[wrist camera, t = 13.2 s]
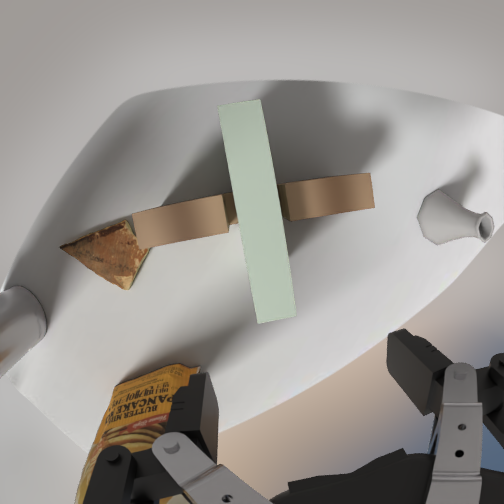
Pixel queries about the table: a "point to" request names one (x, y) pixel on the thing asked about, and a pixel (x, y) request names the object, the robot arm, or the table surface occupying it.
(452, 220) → the flask
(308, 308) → the table surface
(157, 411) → the pancake mix bag
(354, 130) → the table surface
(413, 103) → the table surface
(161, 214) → the walnut board
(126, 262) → the shard
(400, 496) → the robot arm
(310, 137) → the table surface
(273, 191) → the sage board
